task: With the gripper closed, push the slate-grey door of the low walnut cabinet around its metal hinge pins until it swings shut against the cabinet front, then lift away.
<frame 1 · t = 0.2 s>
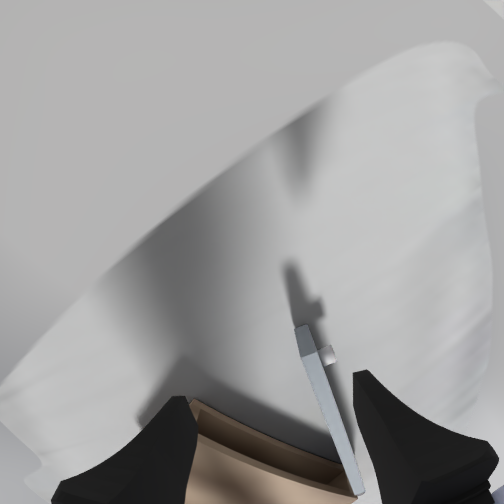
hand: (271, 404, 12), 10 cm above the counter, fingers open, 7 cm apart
cabinet: (251, 466, 24), on the counter
door: (343, 423, 20), point 2 cm above the counter, hinge at 35.0°
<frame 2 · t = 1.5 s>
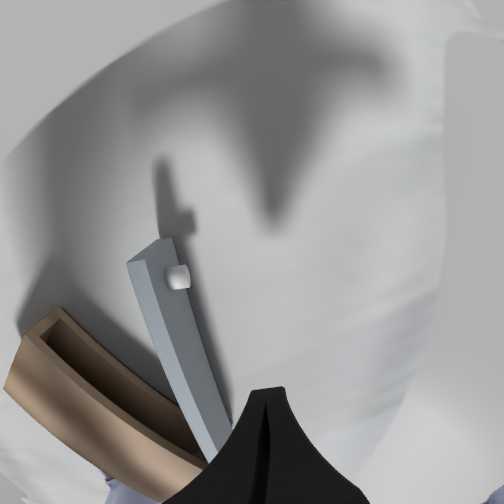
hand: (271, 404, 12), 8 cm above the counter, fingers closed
cabinet: (116, 404, 22), on the counter
door: (201, 377, 18), point 2 cm above the counter, hinge at 35.0°
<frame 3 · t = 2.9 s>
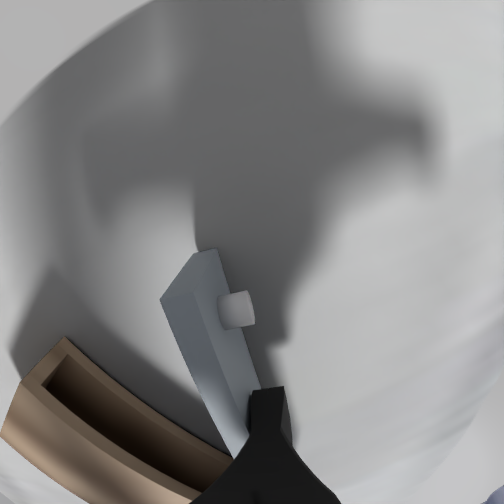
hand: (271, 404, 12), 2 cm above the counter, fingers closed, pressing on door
cabinet: (144, 451, 17), on the counter
door: (265, 433, 12), point 2 cm above the counter, hinge at 31.8°, touching gripper
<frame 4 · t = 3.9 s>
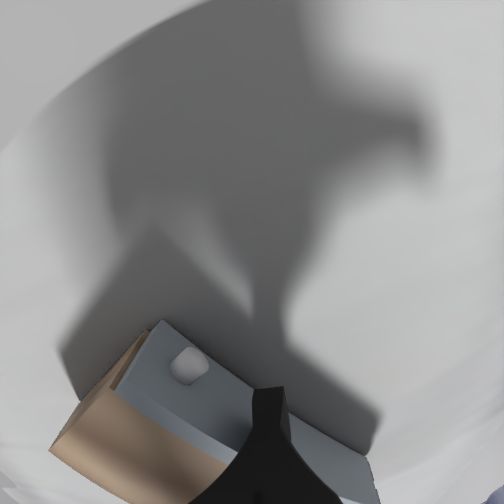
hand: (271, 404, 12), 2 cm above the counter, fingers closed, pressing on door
cabinet: (220, 452, 16), on the counter
door: (293, 444, 13), point 2 cm above the counter, hinge at -0.5°, touching gripper
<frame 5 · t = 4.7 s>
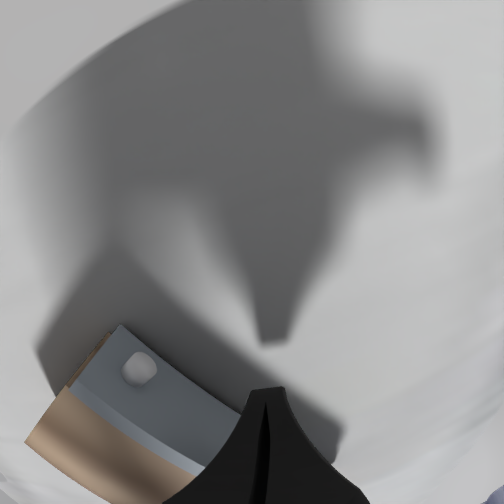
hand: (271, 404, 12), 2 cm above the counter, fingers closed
cabinet: (185, 452, 16), on the counter
door: (245, 450, 13), point 2 cm above the counter, hinge at -0.6°
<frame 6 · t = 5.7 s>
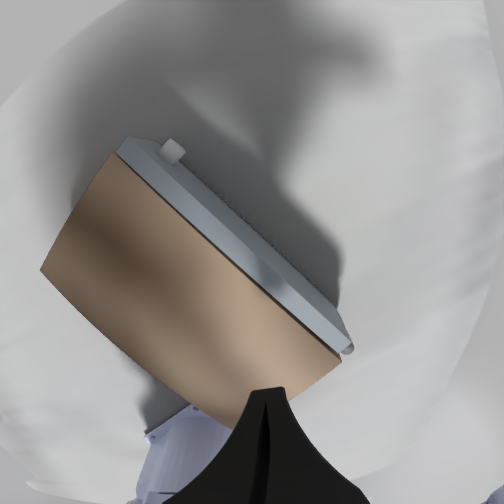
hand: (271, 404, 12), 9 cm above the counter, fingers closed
cabinet: (194, 289, 21), on the counter
door: (253, 239, 17), point 2 cm above the counter, hinge at -0.6°
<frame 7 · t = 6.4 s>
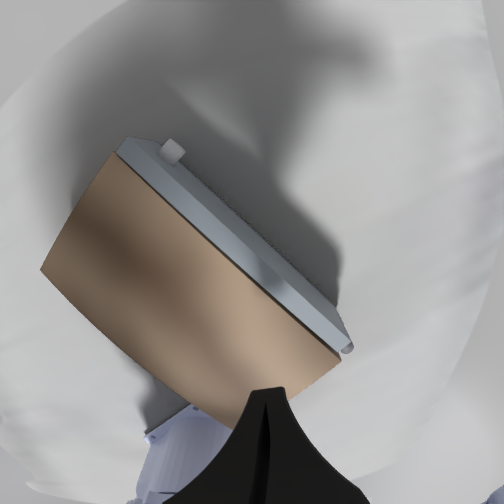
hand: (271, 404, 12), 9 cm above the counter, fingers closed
cabinet: (194, 289, 21), on the counter
door: (252, 238, 17), point 2 cm above the counter, hinge at -0.6°
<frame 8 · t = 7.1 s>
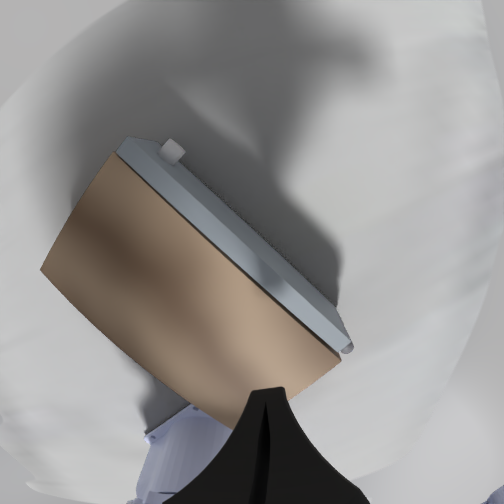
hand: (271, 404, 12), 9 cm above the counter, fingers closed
cabinet: (194, 289, 21), on the counter
door: (252, 238, 17), point 2 cm above the counter, hinge at -0.6°
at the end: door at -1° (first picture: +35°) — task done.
